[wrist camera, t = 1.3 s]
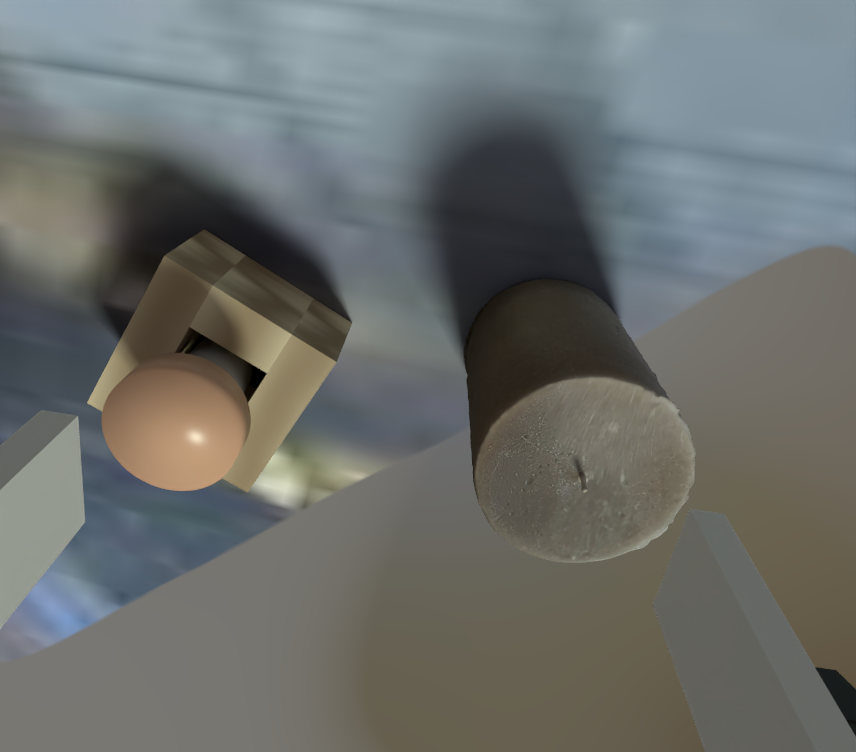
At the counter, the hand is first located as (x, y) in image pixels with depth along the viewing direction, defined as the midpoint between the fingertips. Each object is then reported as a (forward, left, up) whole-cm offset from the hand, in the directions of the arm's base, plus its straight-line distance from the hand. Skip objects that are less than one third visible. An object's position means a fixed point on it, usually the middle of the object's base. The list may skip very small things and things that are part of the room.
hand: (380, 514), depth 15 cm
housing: (-6, -12, -27) cm, 30 cm away
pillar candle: (+10, -2, -27) cm, 29 cm away
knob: (-6, -12, -23) cm, 26 cm away
